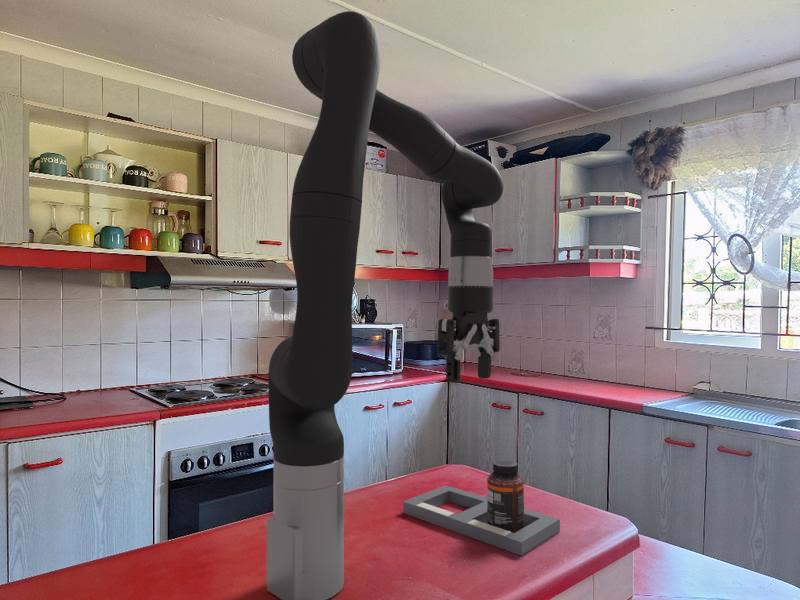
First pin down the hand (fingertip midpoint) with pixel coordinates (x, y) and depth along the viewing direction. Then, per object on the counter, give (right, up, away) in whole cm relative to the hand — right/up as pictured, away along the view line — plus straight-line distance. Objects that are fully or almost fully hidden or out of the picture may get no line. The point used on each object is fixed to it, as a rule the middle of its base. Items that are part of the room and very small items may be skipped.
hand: (469, 380), depth 94 cm
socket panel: (+2, -24, +1) cm, 24 cm away
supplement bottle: (+6, -25, -3) cm, 25 cm away
